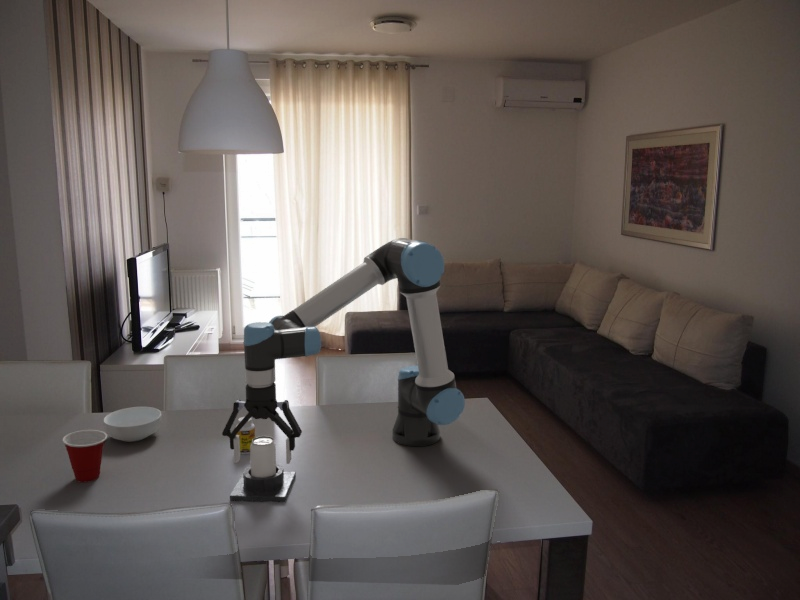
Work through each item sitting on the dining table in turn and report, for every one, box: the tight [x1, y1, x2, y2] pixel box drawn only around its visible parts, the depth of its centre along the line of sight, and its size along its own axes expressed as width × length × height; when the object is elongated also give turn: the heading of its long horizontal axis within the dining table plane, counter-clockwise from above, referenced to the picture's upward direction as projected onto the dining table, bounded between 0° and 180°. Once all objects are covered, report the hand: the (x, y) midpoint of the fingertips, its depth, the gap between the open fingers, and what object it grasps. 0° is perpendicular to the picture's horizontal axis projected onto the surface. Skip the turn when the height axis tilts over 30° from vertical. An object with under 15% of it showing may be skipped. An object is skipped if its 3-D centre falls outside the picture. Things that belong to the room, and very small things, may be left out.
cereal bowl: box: [103, 406, 163, 443], centre depth 198 cm, size 17×17×7 cm
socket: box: [229, 463, 297, 503], centre depth 166 cm, size 14×14×5 cm
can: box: [249, 435, 277, 478], centre depth 165 cm, size 6×6×12 cm
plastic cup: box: [62, 429, 108, 483], centre depth 170 cm, size 11×11×12 cm
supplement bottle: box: [236, 416, 256, 455], centre depth 188 cm, size 6×6×10 cm
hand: (263, 461), depth 165 cm, fingers open, 13 cm apart
